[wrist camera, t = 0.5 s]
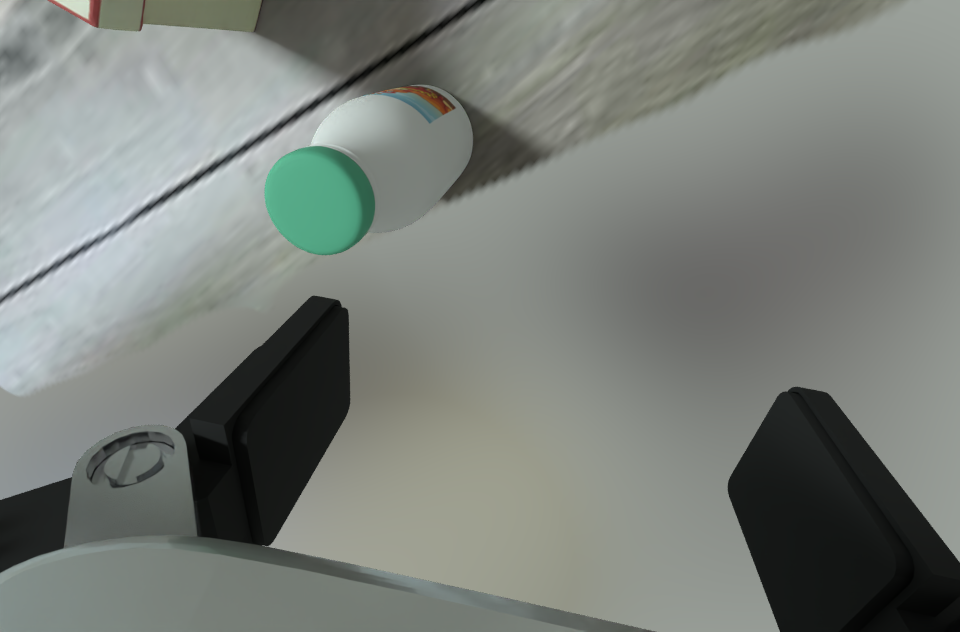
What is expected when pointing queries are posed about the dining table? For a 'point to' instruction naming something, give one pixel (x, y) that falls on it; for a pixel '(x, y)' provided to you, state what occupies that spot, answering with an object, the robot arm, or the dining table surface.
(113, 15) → the gift box
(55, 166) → the dining table surface
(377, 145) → the milk bottle
